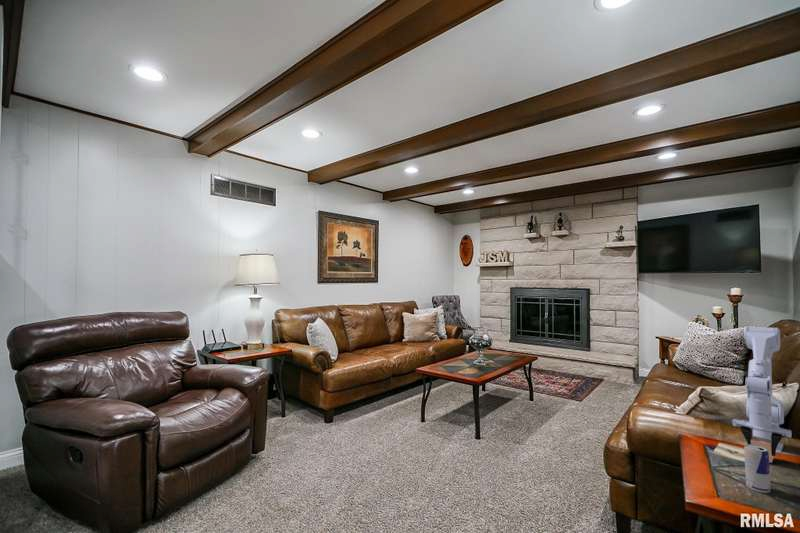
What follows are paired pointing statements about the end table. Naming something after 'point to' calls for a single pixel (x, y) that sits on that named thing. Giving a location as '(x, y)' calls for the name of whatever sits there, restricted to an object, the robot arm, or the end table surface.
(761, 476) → the energy drink
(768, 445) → the salmon cube
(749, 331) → the robot arm
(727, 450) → the birch board
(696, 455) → the end table surface
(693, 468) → the end table surface
